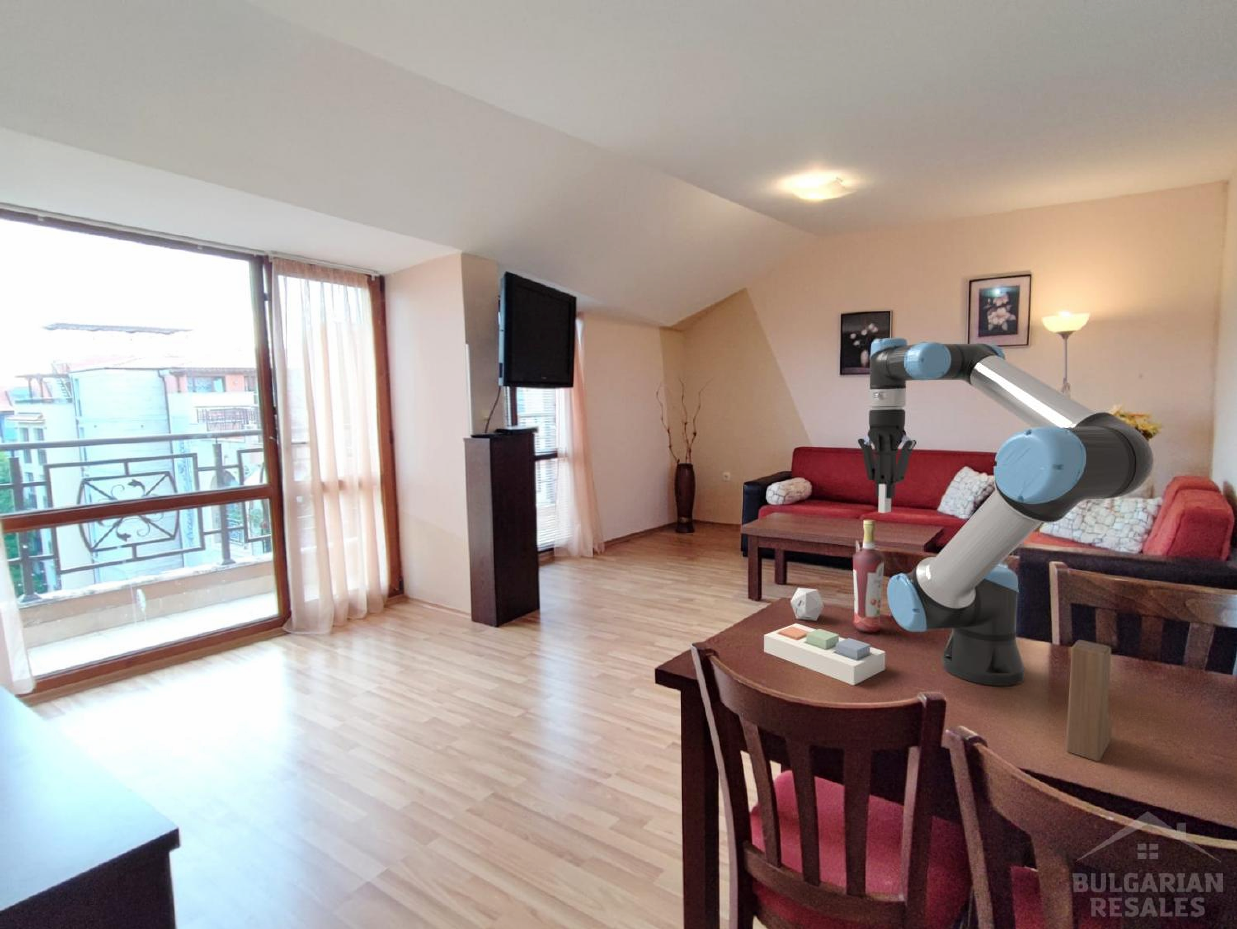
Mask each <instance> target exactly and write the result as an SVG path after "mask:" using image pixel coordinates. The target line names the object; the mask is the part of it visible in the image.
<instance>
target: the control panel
mask: <svg viewBox="0 0 1237 929" xmlns="http://www.w3.org/2000/svg"><path fill="white" fill-rule="evenodd" d="M792 626H793V627H796V628H799V629H802V630H805V631H808V632H812V631H815V630H816V629H815V628H813V627H812V628H811V627H809V626H806V625H803V624H799V623H793V624H791V625H788V626H785V627H782V628H779V629H777V630H773V631H772V632H768V633H766V634H763V652H764V653H767V654H769V655H772V656H774V657H776V658H780V659H783V660H785V661H788V662H790V663H793V664H796V665H799V666H800V667H803V668H806V669H809V670H811V671H814V672H817V673H821V674H823V675H825V676H827V677H831V678H832V679H833V678H834V679H835V680H838V681H841V682H843V683H847V684H849V685H851V686H856V685H857V684H859V683H861V682H863V681H865V680H867V679H869V678H871V677H873V676H874V675H877V674H879V673H881V672H882V671H885V669H886V650H885V651H884V650H881V649H878V648H875V647H872V646H870V656H867V657H865V658H863V659H861V660H859V661H856V660H853V659H850V658H847V657H844V656H841V655H838V654H836V646H835V647H833V648H831V649H828V650H824V649H821V648H818V647H815V646H812V645H809V644H806V637H805V638H802V639H800V640H794V639H791V638H789V637H786V636H783V635H780V634H779V631H781V630H784V629H786V628H789V627H792ZM845 639H846V638H843V637H840V636H839V642H841V641H843V640H845Z"/></svg>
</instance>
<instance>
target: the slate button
mask: <svg viewBox="0 0 1237 929" xmlns="http://www.w3.org/2000/svg"><path fill="white" fill-rule="evenodd" d="M844 639H845V640H843V641H841V642H838V643H836V654H838V655H841V656H844V657H847V658H850V659H853V660H856V661H859V660H861V659H863V658H865V657H867V656H870V647H871V644H869V643H866V642H863V641H861V640H857V639H854V638H850V637H848V638H844Z"/></svg>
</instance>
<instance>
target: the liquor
mask: <svg viewBox="0 0 1237 929" xmlns="http://www.w3.org/2000/svg"><path fill="white" fill-rule="evenodd" d="M862 527H863V532H864V534H863V539H862V540H863V541H862V548H861V550H858V551H857V552H855V553H854V554H853V555H852V569H853V570H852V572H853V575H852V576H853V599H854V600H853V602H854V606H853V607H854V614H853V615H854V618H853V619H854V620H853V622H852V625H853V626H854V627H855V628H856V629H857V630H858V631H859V632H862V633H868V634H869V633H871V634H872V633H876V632H877V631H878V630H880V629H881V628H882V627H883V626H882V623H881V622H880V621H881V605H882V604H881V602H882V593H883V592H882V591H883V590H882V589H883V579H884V566H885V557H884V555H882V554H881V553H880V552H877V551H876V546H875V545H876V544H875V534H874V533H875V528H876V520H874V519H863V526H862Z"/></svg>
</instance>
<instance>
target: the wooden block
mask: <svg viewBox="0 0 1237 929" xmlns="http://www.w3.org/2000/svg"><path fill="white" fill-rule="evenodd" d="M1070 653H1071V655H1070V669H1069V672H1070V673H1069V674H1070V675H1069V690H1068V709H1067V724H1066V725H1067V726H1066V743H1065V744H1066V745H1065V749H1066V752H1068V753H1070V754H1074V755H1076V756H1080V757H1083V758H1085V759H1088V760H1091V761H1094V762H1100V761H1101V758H1102V757H1103V755H1104V753H1105V752H1106V750H1107V748H1108V747H1109V745H1110V743H1111V742H1112V741H1111V739H1112V728H1113V727H1112V726H1113V718H1112V716H1110V715H1108V714H1109V713H1108V712H1109V708H1108V707H1109V694H1110V693H1109V690H1110V688H1109V687H1110V677H1111V676H1110V675H1111V662H1112V661H1111V658H1112V647H1111V646H1110V645H1105V644H1102V643H1101V644H1100V643H1096V642H1093V641H1092V642H1091V641H1087V640H1083V639H1078V640H1077V641H1076V642H1075V643H1074V644H1072V647H1071V651H1070Z"/></svg>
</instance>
